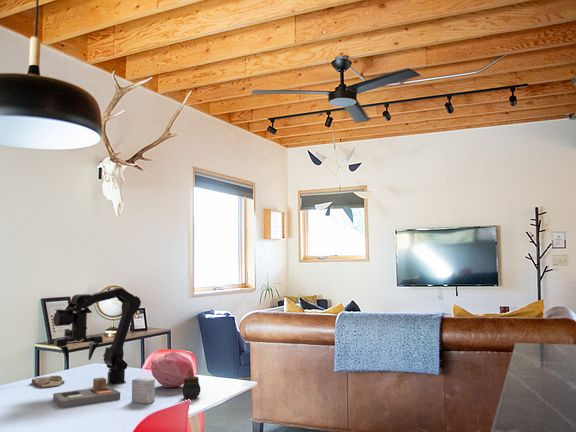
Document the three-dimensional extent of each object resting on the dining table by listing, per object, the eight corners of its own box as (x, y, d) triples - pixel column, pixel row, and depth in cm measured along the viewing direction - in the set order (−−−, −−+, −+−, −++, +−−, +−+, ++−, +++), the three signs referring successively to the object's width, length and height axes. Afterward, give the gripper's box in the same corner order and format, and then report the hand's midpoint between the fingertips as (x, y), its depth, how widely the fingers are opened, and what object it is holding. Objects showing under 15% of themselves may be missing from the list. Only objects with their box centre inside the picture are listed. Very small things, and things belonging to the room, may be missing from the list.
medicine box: (154, 401, 208) (155, 379, 209) (147, 404, 204) (147, 381, 205) (138, 399, 212) (139, 377, 212) (131, 402, 208) (131, 379, 208)
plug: (102, 394, 219) (103, 377, 219) (105, 396, 215) (106, 379, 216) (92, 396, 216) (93, 378, 217) (95, 398, 213) (96, 380, 214)
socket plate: (109, 391, 223) (109, 384, 223) (120, 399, 212) (120, 391, 212) (53, 399, 210) (53, 391, 210) (61, 408, 199) (61, 399, 199)
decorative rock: (194, 382, 241) (194, 348, 242) (193, 390, 227) (194, 354, 228) (151, 384, 237) (151, 349, 239) (148, 391, 223) (148, 355, 225)
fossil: (54, 380, 246) (55, 372, 247) (66, 386, 235) (67, 378, 235) (29, 383, 239) (29, 375, 239) (40, 390, 227) (41, 381, 228)
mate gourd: (184, 401, 209) (185, 375, 210) (179, 396, 216) (179, 371, 217) (202, 398, 213) (202, 373, 214) (196, 394, 219) (196, 369, 220)
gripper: (96, 320, 240) (95, 356, 239) (51, 323, 229) (50, 360, 228) (103, 323, 231) (102, 360, 230) (58, 326, 220) (56, 364, 219)
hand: (78, 361), depth 227 cm, fingers open, 9 cm apart
